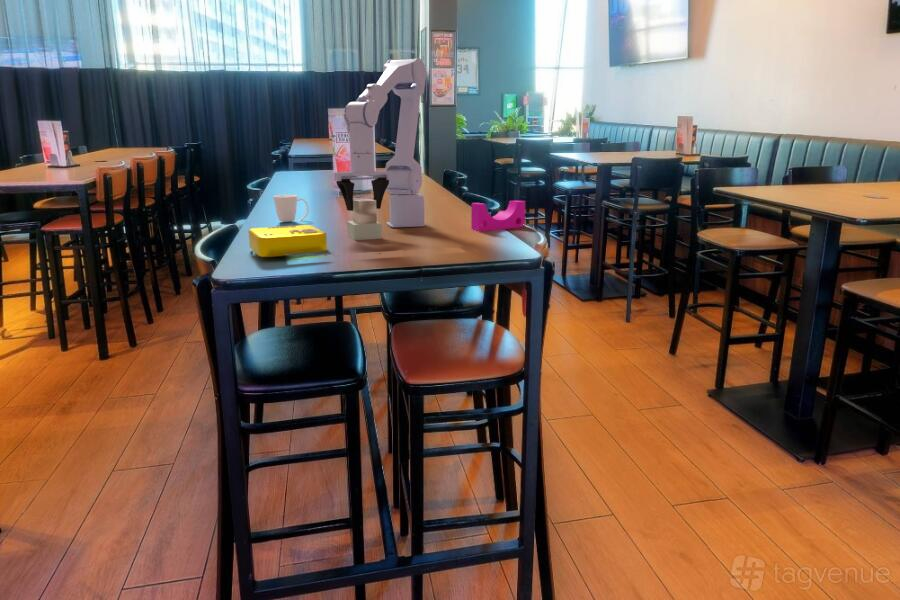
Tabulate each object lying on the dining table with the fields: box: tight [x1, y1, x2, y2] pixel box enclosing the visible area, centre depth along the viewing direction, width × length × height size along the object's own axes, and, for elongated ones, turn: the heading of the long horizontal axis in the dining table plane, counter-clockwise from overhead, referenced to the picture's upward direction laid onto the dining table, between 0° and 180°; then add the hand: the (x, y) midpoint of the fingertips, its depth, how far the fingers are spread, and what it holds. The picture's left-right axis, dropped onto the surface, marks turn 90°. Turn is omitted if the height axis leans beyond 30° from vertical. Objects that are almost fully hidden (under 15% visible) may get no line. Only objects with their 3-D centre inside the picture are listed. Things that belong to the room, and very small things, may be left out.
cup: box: [273, 194, 310, 223], centre depth 175 cm, size 7×10×8 cm
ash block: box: [351, 198, 378, 224], centre depth 152 cm, size 4×4×6 cm
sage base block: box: [346, 220, 383, 241], centre depth 153 cm, size 7×7×4 cm
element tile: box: [248, 224, 328, 258], centre depth 138 cm, size 15×15×5 cm
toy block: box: [470, 200, 526, 232], centre depth 168 cm, size 15×6×8 cm, turn 119°
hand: (363, 209), depth 152 cm, fingers open, 7 cm apart
